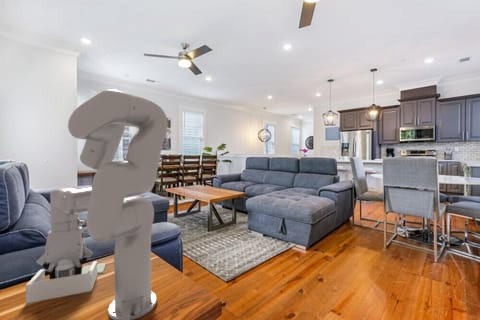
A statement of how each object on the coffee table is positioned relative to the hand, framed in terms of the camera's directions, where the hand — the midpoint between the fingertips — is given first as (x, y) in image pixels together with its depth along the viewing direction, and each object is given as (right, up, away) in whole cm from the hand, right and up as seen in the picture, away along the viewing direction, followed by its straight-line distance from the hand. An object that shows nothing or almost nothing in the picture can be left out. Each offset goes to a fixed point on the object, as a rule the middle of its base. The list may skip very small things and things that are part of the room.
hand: (66, 279), depth 76 cm
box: (0, -3, -1) cm, 3 cm away
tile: (+2, -2, +11) cm, 12 cm away
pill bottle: (0, -3, 0) cm, 3 cm away
